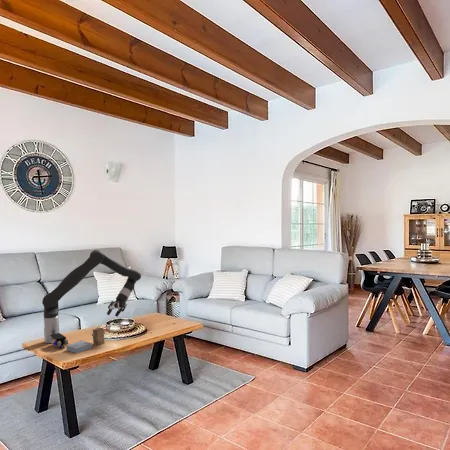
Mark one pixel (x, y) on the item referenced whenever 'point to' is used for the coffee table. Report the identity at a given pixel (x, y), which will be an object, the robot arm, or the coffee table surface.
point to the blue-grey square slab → (79, 346)
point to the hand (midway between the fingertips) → (111, 315)
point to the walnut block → (98, 336)
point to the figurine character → (59, 340)
